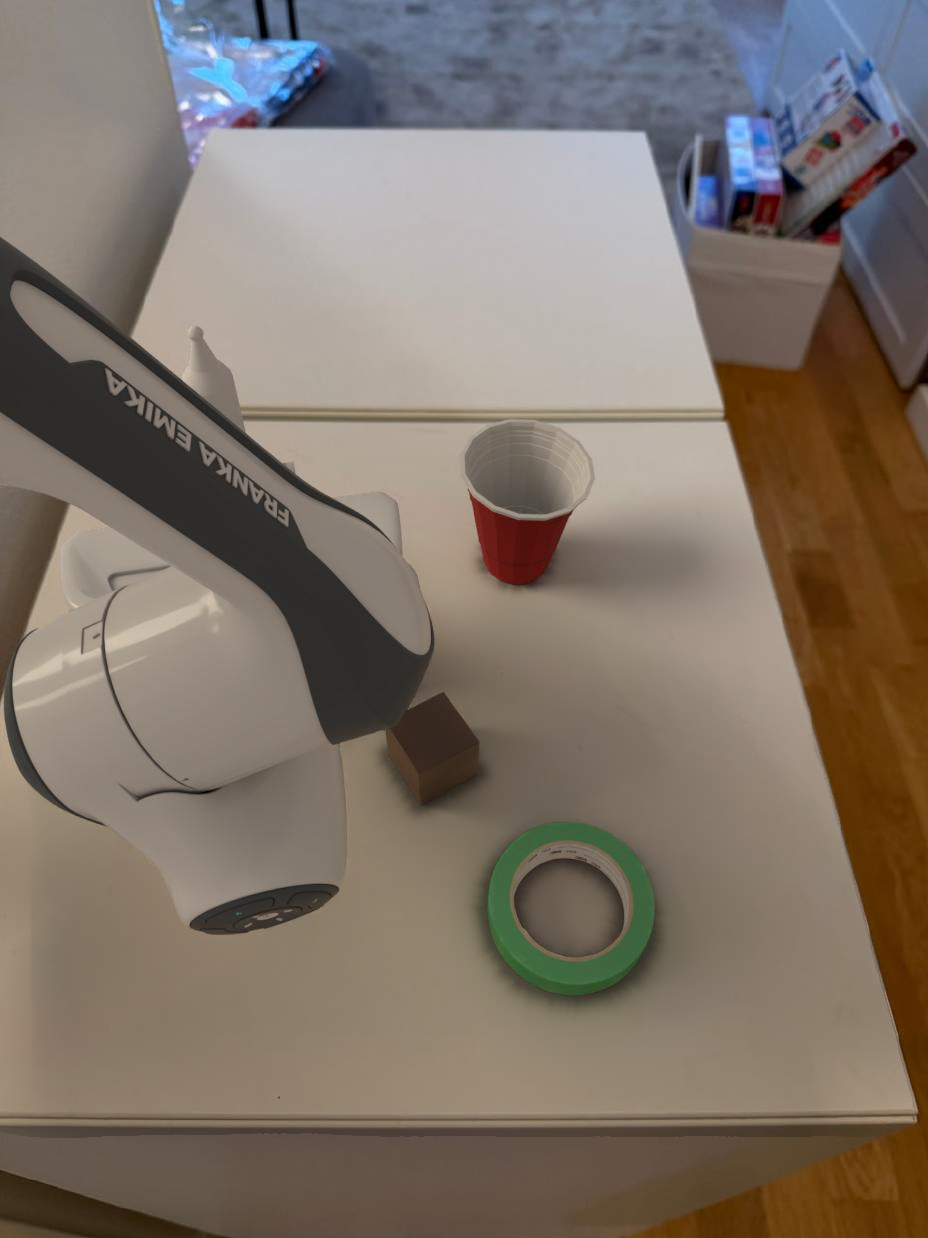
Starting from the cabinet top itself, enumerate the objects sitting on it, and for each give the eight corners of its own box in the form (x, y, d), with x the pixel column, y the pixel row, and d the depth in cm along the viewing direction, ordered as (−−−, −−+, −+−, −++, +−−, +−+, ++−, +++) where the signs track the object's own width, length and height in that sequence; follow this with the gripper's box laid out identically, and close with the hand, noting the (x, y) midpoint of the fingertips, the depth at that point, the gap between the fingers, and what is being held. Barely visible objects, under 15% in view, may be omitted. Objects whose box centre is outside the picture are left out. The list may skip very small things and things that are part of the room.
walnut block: (420, 806, 68) (418, 774, 64) (387, 754, 70) (384, 721, 66) (478, 774, 70) (479, 741, 66) (443, 725, 72) (443, 690, 68)
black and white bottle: (236, 642, 68) (150, 362, 48) (227, 590, 71) (142, 307, 51) (304, 627, 69) (247, 347, 49) (293, 577, 72) (234, 293, 52)
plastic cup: (542, 629, 78) (555, 533, 68) (434, 576, 81) (432, 477, 72) (600, 547, 83) (619, 448, 74) (497, 500, 87) (503, 400, 77)
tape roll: (477, 983, 60) (478, 971, 58) (496, 827, 67) (498, 811, 65) (647, 1008, 60) (654, 996, 57) (650, 847, 66) (656, 832, 64)
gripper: (425, 582, 51) (387, 419, 59) (41, 640, 48) (57, 460, 56) (427, 648, 56) (392, 489, 64) (79, 703, 53) (88, 530, 62)
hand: (232, 476), depth 60 cm, fingers closed on black and white bottle, 5 cm apart
